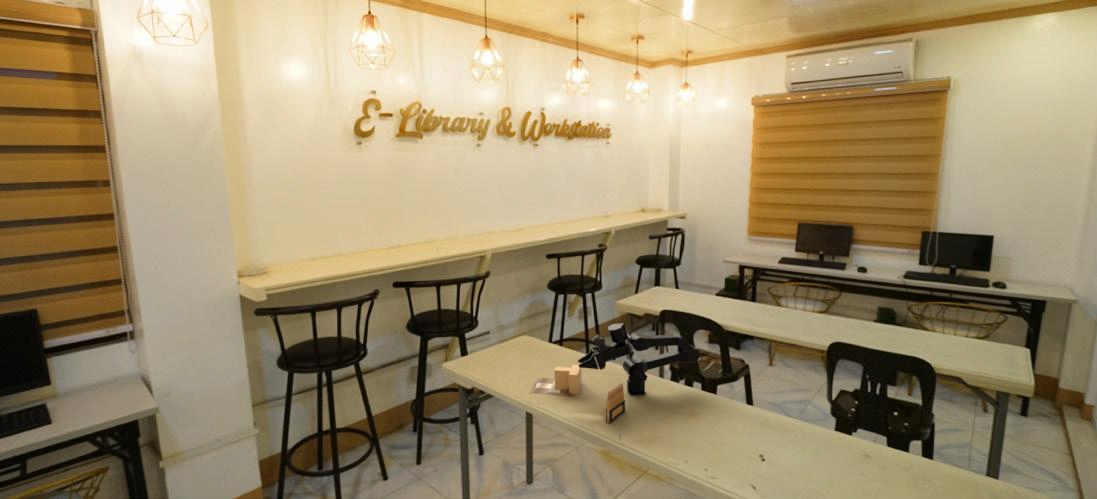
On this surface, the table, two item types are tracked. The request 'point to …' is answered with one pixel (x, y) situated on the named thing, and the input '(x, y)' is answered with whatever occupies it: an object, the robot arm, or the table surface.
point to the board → (553, 388)
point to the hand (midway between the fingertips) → (578, 363)
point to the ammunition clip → (615, 404)
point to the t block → (568, 378)
